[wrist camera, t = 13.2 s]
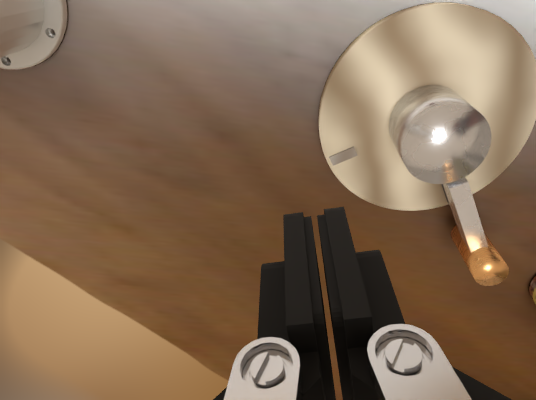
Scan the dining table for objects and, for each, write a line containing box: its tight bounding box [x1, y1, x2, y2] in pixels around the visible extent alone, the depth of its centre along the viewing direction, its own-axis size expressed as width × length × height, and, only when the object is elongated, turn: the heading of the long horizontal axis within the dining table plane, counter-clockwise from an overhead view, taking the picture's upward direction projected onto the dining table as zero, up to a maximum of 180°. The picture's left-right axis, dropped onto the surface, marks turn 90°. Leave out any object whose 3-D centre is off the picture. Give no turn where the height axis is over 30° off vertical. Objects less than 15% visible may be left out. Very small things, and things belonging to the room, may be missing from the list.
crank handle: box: [389, 85, 509, 286], centre depth 38 cm, size 18×7×8 cm, turn 27°
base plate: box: [318, 2, 536, 211], centre depth 39 cm, size 20×20×2 cm
